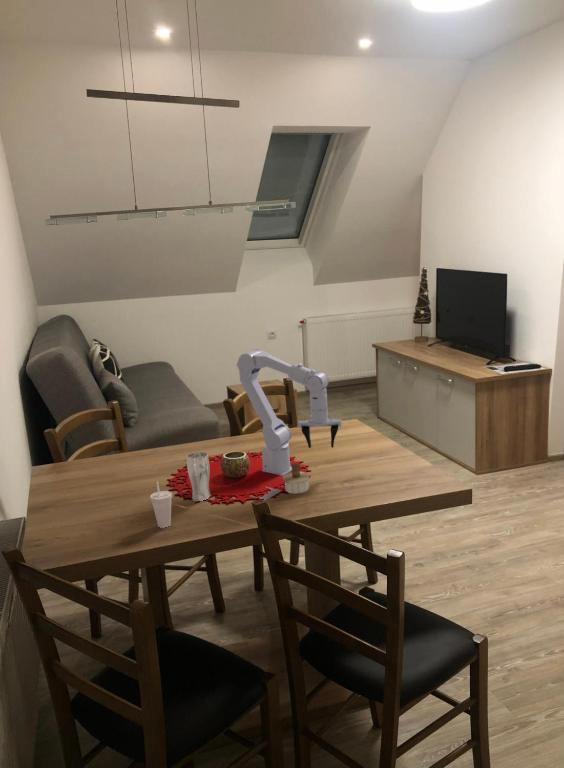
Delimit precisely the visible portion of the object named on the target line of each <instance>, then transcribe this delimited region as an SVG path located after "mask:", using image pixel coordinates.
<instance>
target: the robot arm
mask: <svg viewBox="0 0 564 768" xmlns="http://www.w3.org/2000/svg"><path fill="white" fill-rule="evenodd" d="M236 366H237V369H238V371H239V374H238V375H239V382H240V383H241V386H242V387H243V389H244V391H245V393H246V395H247V396H248V399H249V400H250V402H251V405H252V406H253V408H254V409H255V412H256V414H257V416H258V417H259V419H260V421H261V423H262V425H263V426H262V431H261V433H262V435H263V437H264V438H263V439H264V444H265V446H264V447H263V448H262V452H261V453H262V454H261V458H262V459H261V460H262V461H261V462H262V469H261V472H265V473H269V474H275V475H279V476H284V475H285V474H287V473H290V472H292V466H291V460H290V459H291V458H290V446H289V445H290V443H289V441H290V440H291V439H292V438H291V437H292V432H291V429H290V428H289V427H288V426H287V425H286V424H285V422H284V421H283V420H281V419H280V418H278V417H277V415H276V413H275V411H274V409H273V407H272V405H271V404H270V402H269V400H268V397H267V396H266V394H265V392H264V390H263V388H262V387H261V385H260V382H259V381H258V375H259V372H260V371H261V369H262V368H269V369H272V370H274V371H277V372H279V373H283V374H285V375H287V376H288V379H289V380H291V381H293V382H294V383H295V382H296V383H297V384H300V385H302V386H304V387H306V389H307V390H308V391H309V405H310V406H309V407H310V408H309V409H310V419H304V420H298V422H297V426H298V427H297V428H301V432H302V434H303V436H304V438H305V440H306V442H307V446H308V448H309V449H311V448H312V442H311V439H312V438H311V428H312V427H313V428H315V427H316V428H317V427H318V428H319V427H330V438H331V439H330V448H334V447H335V446H334V443H335V439H336V436H337V433H338V430H339V427H342V419H334V418H329V411H328V410H329V409H328V394H327V393H328V392H327V391H328V390H327V386H328V385H329V382H330V381H329V377H328V374H326V373H325V372H324V371H321V370H319V371H316V370H315V369H310V368H308V367H305V366H304V364H303V363H294V364H290V363H288V362H286V361H283V360H282V359H280V358H278V357H275V356H274V355H271V354H270V353H269V352H268V351H263V350H262V349H260V348H256V349H253V350H251V351H248V352H245V353H242V354H241V355H240V356H239V357H238V360H237V363H236Z"/></svg>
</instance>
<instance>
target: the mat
mask: <svg viewBox="0 0 564 768" xmlns="http://www.w3.org/2000/svg"><path fill="white" fill-rule="evenodd" d="M265 487H266V488H269V489H270V490H271V492H268V494H265V495H264V496H263V497H259V498H260V499H264V500H263V501H264V502H266V501H267V500H269V499H271V498H272V497H273V496H274V497H275V496H276V495H277V494H279V493H280V492H283V490H281V489H278V488H277V489H276V488H273V487H268V486H265ZM256 498H257V497H256ZM256 498H255V499H256ZM260 499H259V500H260Z"/></svg>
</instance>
